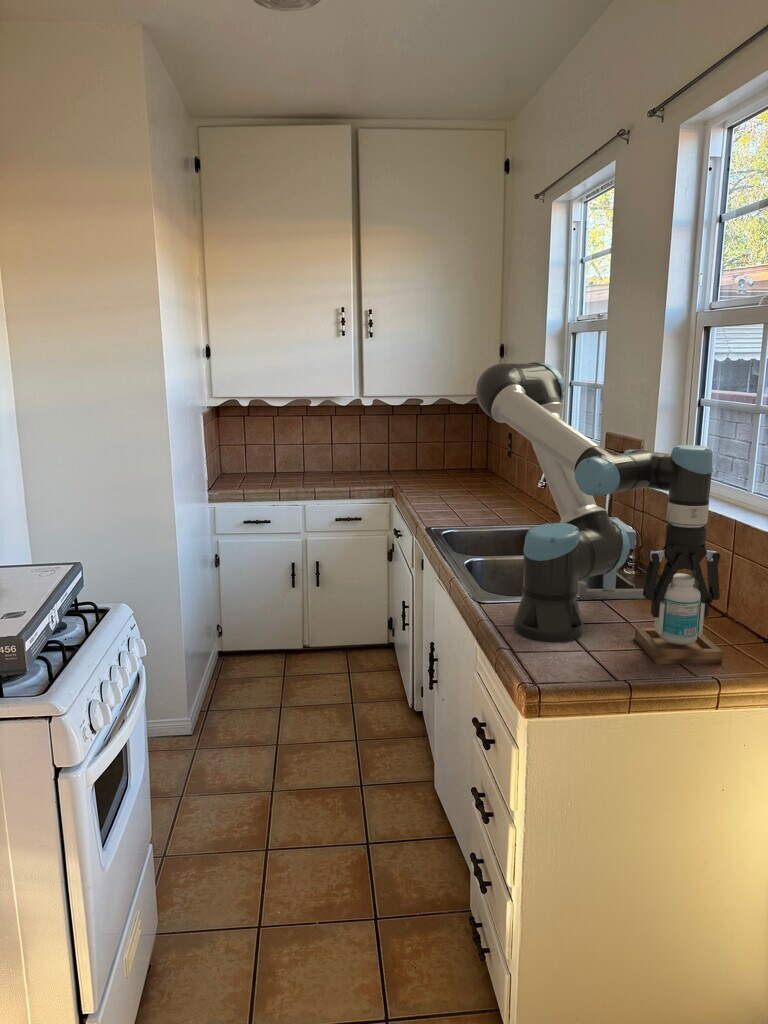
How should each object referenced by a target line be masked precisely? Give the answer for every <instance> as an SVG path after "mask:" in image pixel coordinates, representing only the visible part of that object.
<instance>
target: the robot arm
mask: <svg viewBox="0 0 768 1024" xmlns="http://www.w3.org/2000/svg"><path fill="white" fill-rule="evenodd" d="M565 390H566V386H565V381H564V379H563V376H562V375H561V373H560V371H558V369H557V368H556V367H554V366H552V365H550V364H548V363H542V362H537V361H535V362H528V363H521V362H519V363H505V362H504V363H496V364H494V365H491V366H490V367H488V368H486V369H485V370H484V371H483V373H481V375H480V376H479V378H478V380H477V382H476V386H475V397H476V400H477V403H478V405H479V406H480V408H481V410H483V412H484V413H485V414H486V415H487V416H489V418H491V419H493V420H494V421H496V423H500V424H504V423H505V424H507V425H508V426H509V427H511V428H512V429H513V430H515V431H516V432H518V433H519V434H520V435H522V436H523V437H524V438H526V439H527V440H528V441H529V442H530V443H531V446H532V449H533V451H534V453H535V456H536V458H537V461H538V463H539V466H540V468H541V471H542V474H543V476H544V478H545V481H546V484H547V486H548V488H549V491H550V495H551V496H552V499H553V501H554V503H555V506H556V509H557V511H558V514H559V517H560V521H559V522H554V523H550V522H549V523H543V524H538V525H535V526H533V527H532V528H530V529H529V530H528V531H527V532H526V534H525V537H524V538H525V539H524V545H523V549H522V550H523V551H522V552H523V572H522V573H523V574H522V576H523V579H522V585H523V586H522V596H521V599H520V601H519V604H518V606H517V609H516V611H515V614H514V617H513V629H514V631H515V632H516V633H517V634H518V635H519V636H522V637H524V638H528V639H529V640H530V639H531V640H534V641H539V642H547V643H548V642H549V643H564V642H565V643H566V642H570V641H575V640H577V639H579V638H581V637H582V636H583V634H584V621H583V617H582V613H581V610H580V606H579V603H578V599H577V598H578V597H577V581H581V580H584V579H588V578H592V577H596V576H600V575H601V576H604V575H605V574H607V573H610V572H611V571H615V570H619V569H620V568H621V567H622V566H624V564H625V563H626V561H627V559H628V556H629V553H630V550H631V549H630V543H629V538H628V535H627V532H626V531H625V529H624V528H623V527H622V526H621V525H619V524H618V523H617V522H614V521H610V519H609V517H610V516H609V514H608V512H607V510H606V509H605V508H603V507H600V506H598V504H597V503H596V501H595V498H594V496H606V495H607V496H608V495H610V494H616V493H621V492H629V491H635V490H640V489H641V490H642V489H654V490H661V491H665V492H667V491H668V499H667V500H668V503H667V510H666V511H667V513H666V520H667V523H666V524H665V525H666V526H665V527H666V528H665V543H664V546H663V548H662V549H661V550H655V551H654V550H652V549H651V550H649V551H648V559H649V562H648V563H649V564H648V567H647V573H646V577H645V581H644V585H643V588H642V589H643V596H644V597H645V598H646V599H645V600H647V601H651V606H650V614H651V616H652V617H653V618H654V624H653V628H654V630H655V631H656V632H657V633H658V634H662V632H663V619H664V607H665V604H664V603H663V602H662V601H661V600H662V598H663V596H664V594H665V592H666V590H667V588H668V586H669V584H670V582H671V580H672V578H673V576H674V575H675V574H677V573H678V571H679V570H690V572H691V576H693V577H694V578H695V583H694V585H695V587H696V588H697V589H698V590H699V591H700V594H701V599H700V610H699V622H698V634H703V630H704V629H703V628H704V618H707V617H709V610H710V604H712V603H713V601H718V600H719V599H720V598H721V597H720V595H721V594H720V578H719V577H720V576H719V562H720V560H721V554H720V553H719V552H717V550H714V549H711V550H708V549H707V548H706V543H707V530H708V527H707V526H706V525H705V524H707V523H708V521H709V520H708V519H709V518H708V517H709V508H710V494H711V484H712V477H713V476H712V474H713V471H714V468H713V455H714V452H713V450H712V449H711V448H710V447H708V446H704V445H694V444H693V445H691V444H680V445H678V444H677V445H675V446H674V447H672V450H671V453H665V452H657V451H652V450H651V451H650V450H645V449H627V450H625V451H623V452H622V453H619V454H611V453H610V452H609V451H607V450H606V449H604V448H602V447H601V446H600V445H598V444H597V443H595V442H594V441H592V440H591V439H589V438H588V437H587V436H585V434H582V433H581V432H580V431H578V430H577V429H575V428H573V427H572V426H571V425H570V424H568V423H567V422H565V421H564V420H563V419H562V417H561V412H562V410H563V408H564V405H563V400H564V398H565V394H564V392H565ZM663 557H664V558H665V559H666V563H665V565H664V567H663V568H664V569H663V571H662V574H661V575H660V577H659V576H658V574H659V571H660V566H661V562H662V561H663ZM704 558H705V560H706V571H707V572H706V573H707V585H706V582H705V578H704V576H703V573H702V572H703V570H702V568H701V567H702V566H701V564H700V563H701V561H703V560H704ZM658 577H659V580H658V581H657V579H658Z"/></svg>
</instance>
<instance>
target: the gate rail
mask: <svg viewBox="0 0 768 1024" xmlns="http://www.w3.org/2000/svg"><path fill="white" fill-rule="evenodd" d="M670 584H671V583H670ZM643 589H644V588H615V590H605V589H604V588H588V584H587V583H586V582H585V580H577V596H579V597H577V598H578V599H579V600H580V601H581V600H583V601H586V600H596V599H595V598H601V599H600V600H644V599H645V600H647V599H646V598H645V597H644V596H643Z"/></svg>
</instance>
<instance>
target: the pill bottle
mask: <svg viewBox="0 0 768 1024" xmlns="http://www.w3.org/2000/svg"><path fill="white" fill-rule="evenodd" d="M670 583H671V584H669V586H668V588H667V590H666V592H665V594H664V596H663V598H662V600H661V601H662V602H663V603H664V604H665V607H664V619H663V632H662V634H659V636H660V638H661V639H663V640H664V641H666V642H669V643H672V644H679V645H687V644H692V643H694V642H695V641H696V640H697V634H698V622H699V610H700V599H701V594H700V591H699V590H698V589H697V588H696V586H694V585H695V578H694V577H693V576H692V574H691V575H690V574H687V573H678V572H677V573H676V574H675V575H674V576H673V578H672V580H671V582H670Z"/></svg>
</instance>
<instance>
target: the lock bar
mask: <svg viewBox="0 0 768 1024" xmlns="http://www.w3.org/2000/svg"><path fill="white" fill-rule="evenodd" d="M609 519H610V521H614V522H617V523H618V524H619V525H621V526H622V527H623V528H624V529H625V531H626V532H627V535H628V538H629V543H630V549H629V550H632V549H633V550H635V549H636V544H637V542H636V541H637V531H635V529H633V528H631V527H630V526H629V525H628V524H627V523H625V522H623V521H622V520H621V519H620V518H618V517H617V516H616V517H614V516H613V517H610V516H609ZM617 570H618V569H617ZM617 570H615V571H611V572H610V573H607V574H605V575H603V578H602V580H603V581H602V582H603V583H602V589H605V590H615V589H616V582H617V572H618V571H617Z"/></svg>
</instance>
